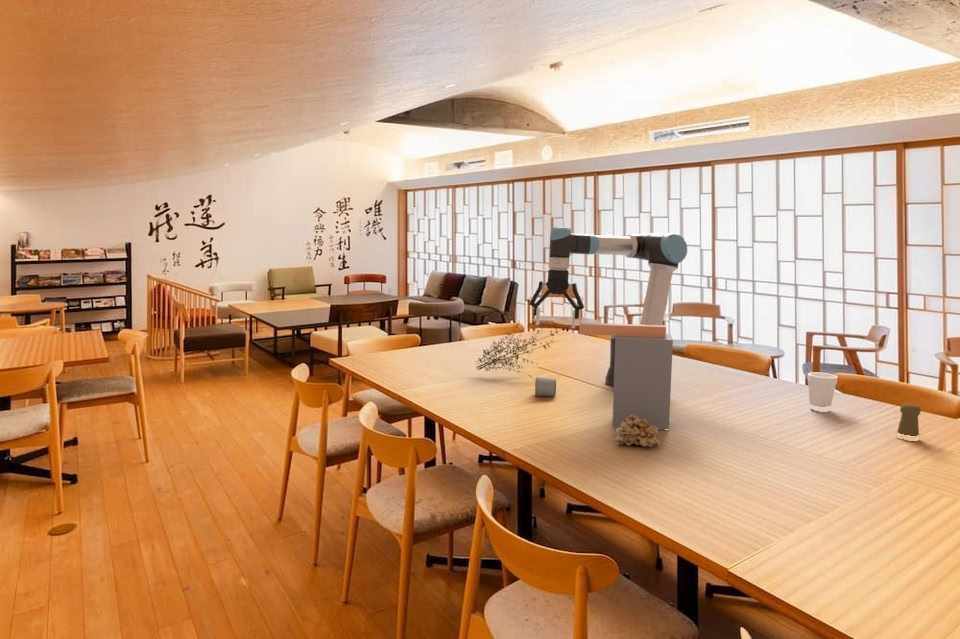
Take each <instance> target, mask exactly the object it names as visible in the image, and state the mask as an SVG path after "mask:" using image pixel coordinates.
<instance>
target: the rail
mask: <svg viewBox="0 0 960 639" xmlns="http://www.w3.org/2000/svg"><path fill="white" fill-rule="evenodd" d="M578 331H579V332H578V334H579V335H589V336H610V337H611V336H637V337H663V338H666V334H667V332H666V331H667V326H666V325H665V324H662V325H640V324H637V323H636V324H633V323H629V324H628V323H607V322H604V323H603V322H601V323H600V322H580V323H579V324H578Z"/></svg>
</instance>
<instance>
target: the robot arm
mask: <svg viewBox="0 0 960 639" xmlns="http://www.w3.org/2000/svg"><path fill="white" fill-rule="evenodd" d="M548 252H549V253H548V255H549V256H548V268H549V269H548V270H547V272H548V273H547V281H543V280H541V281H539V282H538V287H537V289H536V290H535V293H534V294H533V296H532V298H531V300H530V301H529V306H532V307H533V316H534V317H536V318H535V326H539V325H540V321H541V320H540V317H541V307H540V305H541V304H542V303H543V302H544V301H545V300H546V298H547V299H548V297H549V295H551V294H552V295H557V296H559V295H563V296H564V297H565V299H566V300H567V301H568V302H569V303H570V305H571V306H572V308H573V310H572V317H571V329H575V328H576V320H578V319H579V317H580V316H579V314H580V310H583V309H584V308H585V305H584V303H583V300H582V298H581V296H580V293H579V290H578V288H577V287H578V286H577V285H578V284H577V283H576V282H574V283H569V275H570V274H569V273H570V271H569V270H568V269H570V257H571V256H570V254H572V255H586V256H587V255H612V256H614V255H615V256H625V257H626V258H629V259H638V260H643V261H647V265H648V266H649V269H650V270H649V271H650V273H649V277H648V282H647V286H646V292H645V298H644V300H643V301H644V303H643V307H642V313H641V316H640V317H641V318H640V324H639V325H664V324H663V323H664V318H665V312H666V308H667V304H668V298H669V293H670V288H671V284H672V283H671V282H672V278H673V273H674V272H675V271H676V270H678V268H679V264H680V263H682V262H683V261H684V260H685V259H686V257H687V254H688V244H687V242H686V240H685V238H684V237H683V236H682V235H681V234H679V233H675V232H669V231H668V232H649V233H641V234H627V235H626V236H618V235H614V236H613V235H600V234H599V235H596V234H591V233H572V229H571V227H567V226H566V227H564V226H562V227H561V226H554V227H552V228H551V230H550V236H549V251H548ZM545 287H546V288H547V290H546V291H545V292H544V294H543V295H542V296H541V297H540V298H539V299H538V297H539V296H540V294H541V292H542V290H543V288H545ZM569 288H570V290H572V293H573V295H574V298H575V300H576V301H575V300H574V299H573V297H572V296H571V295H570V293H569V291H568V289H569ZM537 299H538V300H537ZM576 302H577V303H576ZM609 342H610V350H609V351H610V352H609V353H610V354H609V355H610V357H609V367H608V370H607V373H606V376H605V379H604V380H605V381H604V382H605V384H606V385H608V386H611V387H614V363H615V336H611V335H610V341H609Z"/></svg>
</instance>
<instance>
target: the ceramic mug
mask: <svg viewBox="0 0 960 639" xmlns="http://www.w3.org/2000/svg"><path fill="white" fill-rule="evenodd" d="M534 382H535V384H534V386H535V388H534V396H535V397H549V396H551V397H554V396H556V393H557V380H556V378H552V377H544V376H536V377H535V380H534Z"/></svg>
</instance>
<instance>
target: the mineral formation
mask: <svg viewBox="0 0 960 639" xmlns="http://www.w3.org/2000/svg"><path fill="white" fill-rule="evenodd" d="M620 425H621V426H619V427H615V428H616V429H615V434H616V435H618V436H616V437H615V441H616V443H617V445H618V446H623V445H627V446H631V445H632V444H635V445H636V446H641V447H643V448H645V447H646V448H652V447H653V446H654V445H657V446H658V445H660V444H661V442H660V440H659V439H658V438H657V433H659V431H658V430H657V428H656V427H655V426H653V425H649V424H648V422H647V421H646V419H639V418H638V417H637V416H634V415H633V414H632V415H629V416H628V418H626V420H624V421H622V422H621V424H620Z"/></svg>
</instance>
